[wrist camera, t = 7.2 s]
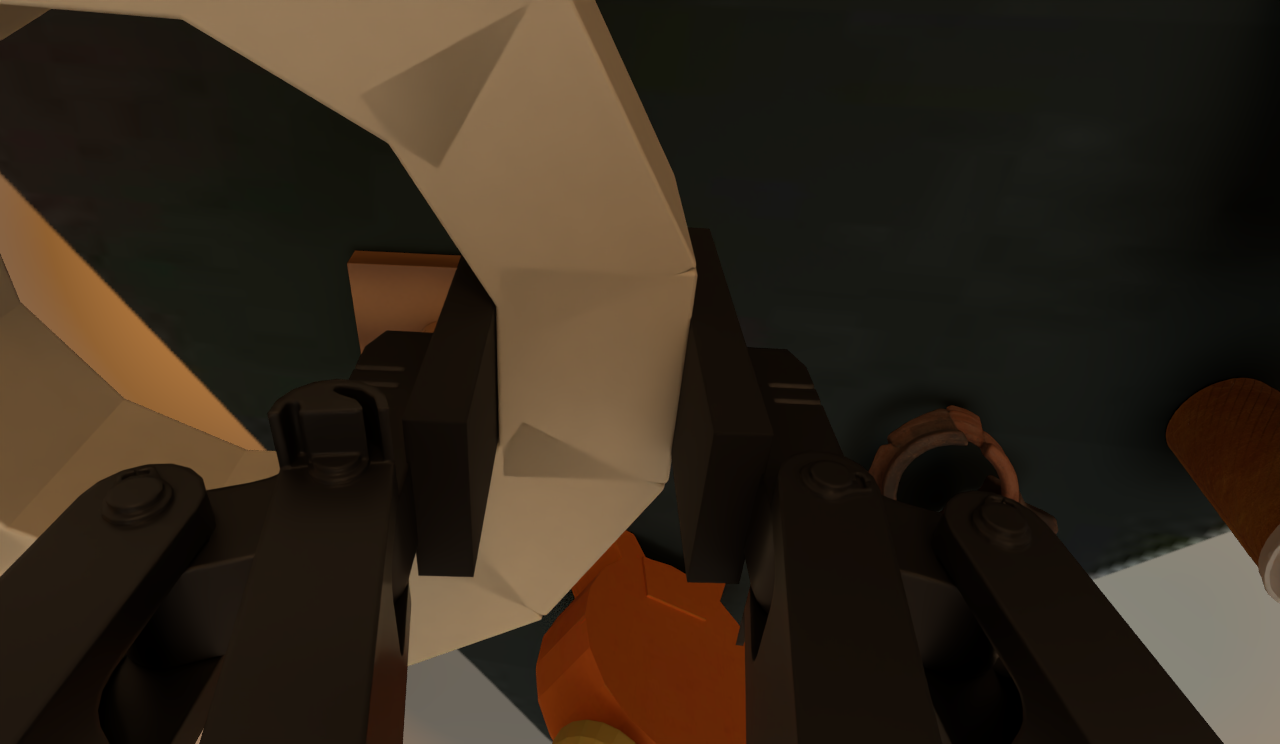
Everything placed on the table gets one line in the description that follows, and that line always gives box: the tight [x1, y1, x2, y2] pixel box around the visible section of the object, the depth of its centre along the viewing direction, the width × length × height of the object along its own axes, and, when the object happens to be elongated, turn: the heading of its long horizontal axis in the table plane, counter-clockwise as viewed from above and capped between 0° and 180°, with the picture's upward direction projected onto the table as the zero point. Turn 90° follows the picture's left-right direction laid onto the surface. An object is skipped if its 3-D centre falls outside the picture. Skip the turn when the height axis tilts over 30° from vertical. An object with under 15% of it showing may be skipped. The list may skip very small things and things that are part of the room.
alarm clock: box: [536, 530, 746, 744], centre depth 43 cm, size 13×6×20 cm, turn 55°
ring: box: [0, 0, 698, 666], centre depth 13 cm, size 16×16×4 cm
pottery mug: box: [868, 405, 1058, 534], centre depth 45 cm, size 12×10×8 cm
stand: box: [347, 251, 461, 354], centre depth 35 cm, size 9×9×14 cm
